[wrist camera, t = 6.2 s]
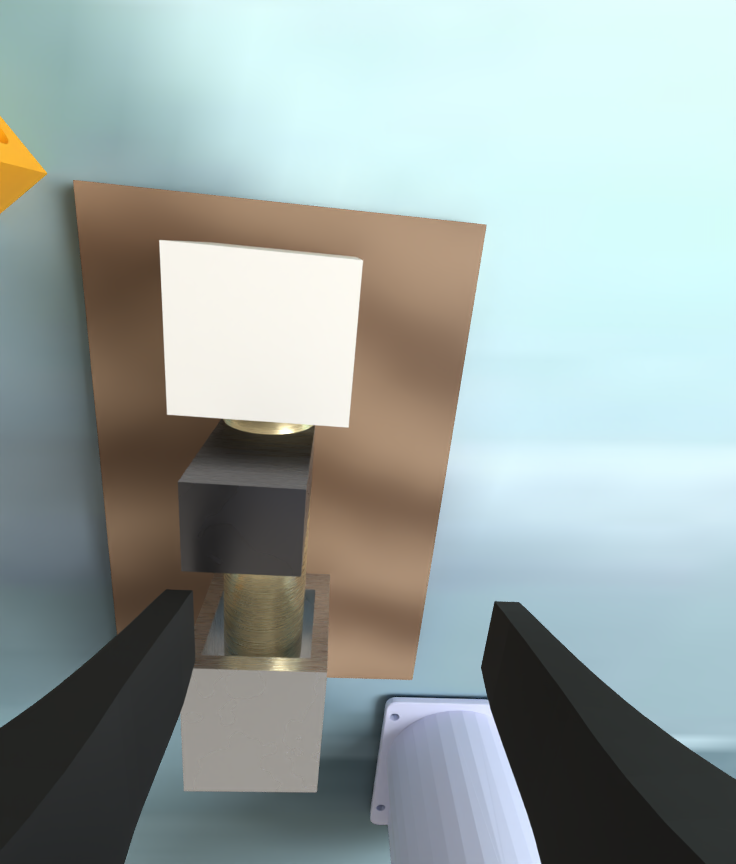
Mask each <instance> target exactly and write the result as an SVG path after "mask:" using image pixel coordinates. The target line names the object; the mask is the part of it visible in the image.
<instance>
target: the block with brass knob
mask: <svg viewBox="0 0 736 864" xmlns="http://www.w3.org/2000/svg"><path fill="white" fill-rule="evenodd" d="M314 437H315V425H305V424H291V423H277V422H263V421H249V420H235V419H221V420H220V421H219V423H218V424H217V426H216V427H215V429H214V430H213V432H212V433H211V434H210V436H209V437H208V439H207V440H206V442H205V443H204V445H203V446H202V447H201V449H200V450H199V452H198V453H197V455H196V456H195V458H194V459H193V461H192V462H191V463H190V465H189V466H188V468H187V469H186V471H185V472H184V474H183V475H182V476H181V478H180V479H179V481H178V500H179V526H180V552H181V571H184V572H206V573H224V656H248V657H279V658H299V657H300V654H301V644H302V628H303V612H304V596H305V580H306V564H307V548H308V533H309V517H310V501H311V485H312V469H313V453H314Z"/></svg>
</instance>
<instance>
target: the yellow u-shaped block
mask: <svg viewBox="0 0 736 864" xmlns="http://www.w3.org/2000/svg"><path fill="white" fill-rule="evenodd" d="M46 174H47V173H46V171H45V170H44V169H43V168H42V167H41V165H40V164H39V163H38V162H37V160H36V159H35V158H34V157H33V156H32V154H31V153H30V152H29V151H28V149H27V148H26V147H25V146H24V145H23V143H22V142H21V141H20V140H19V138H18V137H17V136H16V135H15V134H14V132H13V131H12V130H11V129H10V127H9V126H8V125H7V124H6V123H5V121H4V120H3V119H2V118H1V117H0V214H1V213H2V212H3V211H4V210H5V209H6V208H8V207H9V206H10V205H11V204H12V203H13V202H15V201H16V200H17V199H18V198H19V197H21V196H22V195H23V194H24V193H25V192H26V191H28V190H29V189H30V188H31V187H32V186H34V185H35V184H36V183H37V182H38V181H39V180H41V179H42V178H43V177H44V176H45V175H46Z"/></svg>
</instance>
